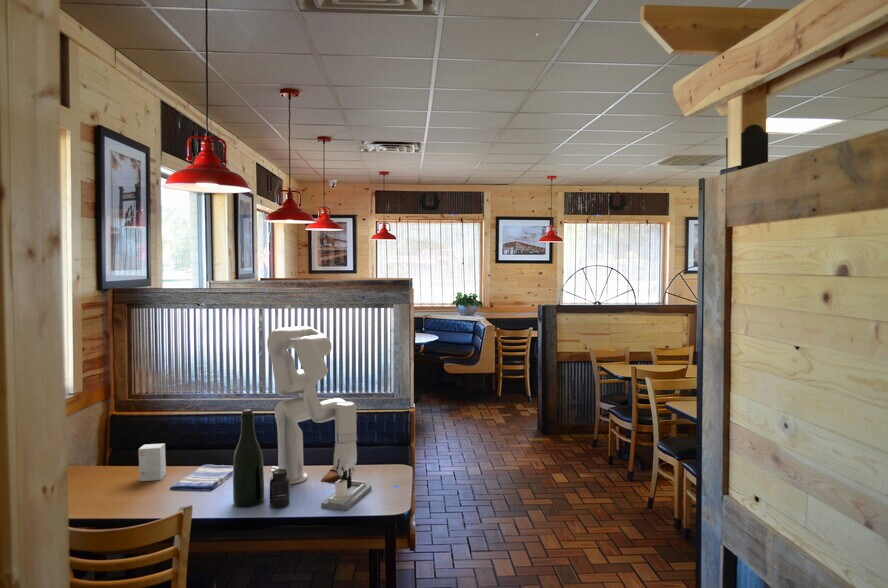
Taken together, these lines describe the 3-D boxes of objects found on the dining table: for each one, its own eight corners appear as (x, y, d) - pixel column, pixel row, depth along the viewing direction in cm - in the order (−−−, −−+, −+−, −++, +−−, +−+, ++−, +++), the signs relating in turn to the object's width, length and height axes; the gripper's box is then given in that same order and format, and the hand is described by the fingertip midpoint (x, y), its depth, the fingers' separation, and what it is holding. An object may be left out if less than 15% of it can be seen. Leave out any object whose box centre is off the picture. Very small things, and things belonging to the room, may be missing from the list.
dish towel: (241, 470, 232) (241, 464, 232) (212, 492, 209) (212, 485, 209) (201, 469, 234) (201, 463, 234) (168, 491, 210) (168, 483, 210)
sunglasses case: (333, 466, 235) (341, 453, 234) (347, 475, 234) (355, 462, 234) (319, 482, 217) (327, 467, 216) (334, 492, 216) (343, 477, 216)
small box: (166, 474, 226) (165, 443, 226) (160, 480, 220) (160, 447, 220) (144, 476, 225) (144, 444, 225) (138, 481, 219) (138, 448, 218)
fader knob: (343, 500, 195) (343, 482, 195) (335, 499, 196) (335, 481, 196) (347, 496, 198) (346, 479, 198) (339, 496, 199) (339, 478, 199)
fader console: (347, 510, 190) (347, 501, 190) (321, 507, 193) (321, 498, 193) (371, 489, 209) (371, 481, 209) (347, 486, 212) (347, 478, 212)
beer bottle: (250, 494, 205) (249, 405, 204) (270, 499, 200) (269, 408, 199) (226, 504, 196) (224, 411, 195) (246, 510, 191) (245, 414, 190)
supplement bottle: (279, 510, 191) (278, 475, 191) (265, 506, 195) (265, 472, 194) (294, 503, 197) (293, 469, 196) (280, 499, 200) (280, 466, 200)
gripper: (345, 430, 208) (346, 479, 209) (326, 441, 194) (327, 494, 195) (364, 431, 206) (364, 481, 207) (346, 443, 192) (346, 496, 192)
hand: (346, 487), depth 201 cm, fingers closed
